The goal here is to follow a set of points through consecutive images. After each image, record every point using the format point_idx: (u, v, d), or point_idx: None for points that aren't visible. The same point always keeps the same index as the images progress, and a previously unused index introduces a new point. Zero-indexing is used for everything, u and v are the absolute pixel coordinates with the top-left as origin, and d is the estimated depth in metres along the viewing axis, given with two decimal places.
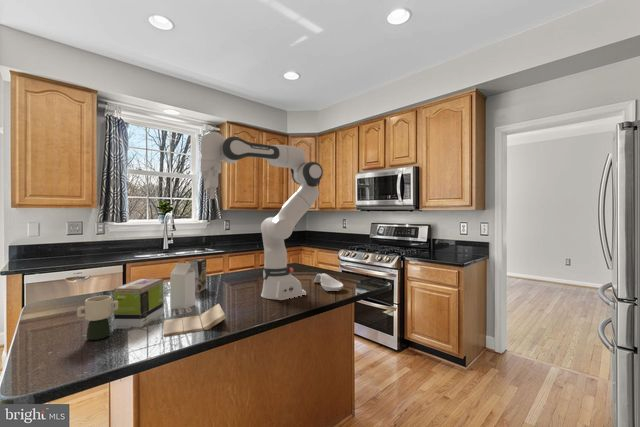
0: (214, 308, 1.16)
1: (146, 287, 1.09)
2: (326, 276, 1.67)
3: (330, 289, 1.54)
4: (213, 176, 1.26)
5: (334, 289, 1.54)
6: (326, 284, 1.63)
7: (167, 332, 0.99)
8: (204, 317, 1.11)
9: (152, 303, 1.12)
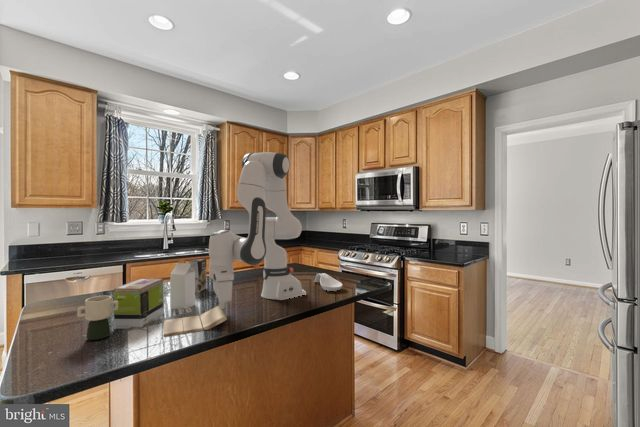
0: (215, 309, 1.16)
1: (146, 287, 1.09)
2: (326, 276, 1.68)
3: (329, 289, 1.55)
4: None
5: (333, 289, 1.55)
6: (326, 284, 1.64)
7: (167, 332, 0.99)
8: (205, 318, 1.11)
9: (152, 303, 1.12)
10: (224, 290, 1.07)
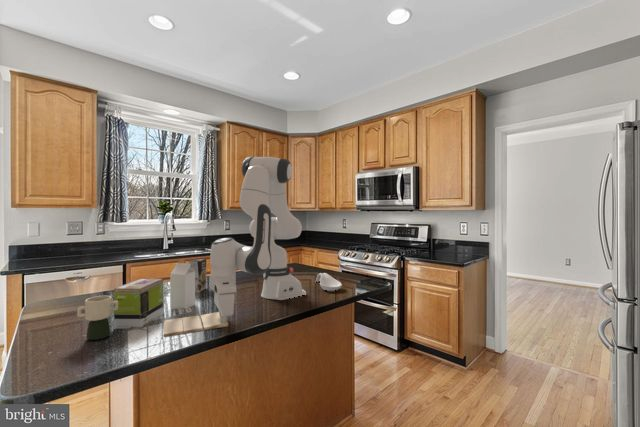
0: (217, 314, 1.16)
1: (146, 287, 1.09)
2: (326, 275, 1.69)
3: (327, 288, 1.55)
4: None
5: (331, 289, 1.55)
6: (325, 283, 1.64)
7: (167, 332, 0.99)
8: (206, 319, 1.11)
9: (152, 303, 1.12)
10: (226, 303, 1.00)
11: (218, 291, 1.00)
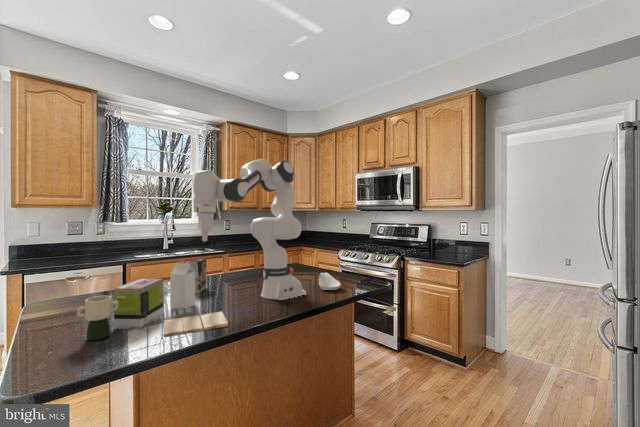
0: (217, 314, 1.16)
1: (146, 287, 1.09)
2: (327, 275, 1.69)
3: (325, 288, 1.56)
4: None
5: (329, 288, 1.56)
6: (325, 283, 1.65)
7: (167, 332, 0.99)
8: (206, 319, 1.11)
9: (152, 303, 1.12)
10: (206, 220, 1.18)
11: (199, 209, 1.18)
